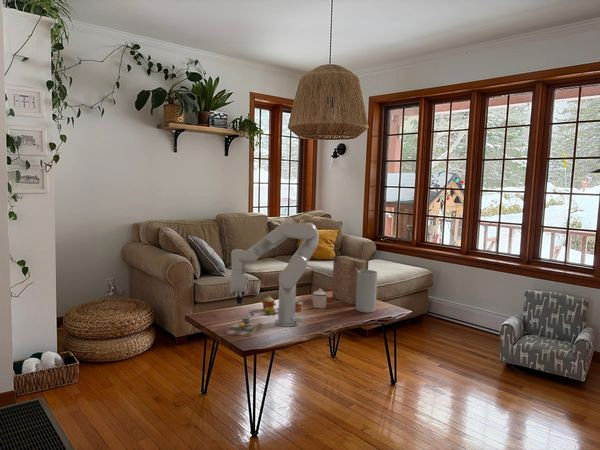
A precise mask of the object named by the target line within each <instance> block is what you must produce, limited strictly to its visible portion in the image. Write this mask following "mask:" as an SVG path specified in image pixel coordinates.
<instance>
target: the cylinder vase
mask: <svg viewBox="0 0 600 450" xmlns="http://www.w3.org/2000/svg"><path fill="white" fill-rule="evenodd" d="M377 285H378V272H377V271H376V270H373V269H372V270H370V269H368V270H358V271H357V293H356V306H355V310H356V311H357V312H358V313H359V312H360V313H366V314H368V313H374V312H375V311H376V308H377V307H376V305H377V304H376V303H377V289H378V288H377V287H378V286H377Z"/></svg>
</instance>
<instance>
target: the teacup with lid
mask: <svg viewBox="0 0 600 450" xmlns="http://www.w3.org/2000/svg"><path fill="white" fill-rule="evenodd" d="M327 295H328V294H327V292H325V291H324V290H322V288H318V289H317V290H316V291H314V292H313V293H312V294H310V301H311V302H312V307H313V308H316V309H325V308H326V307H327Z"/></svg>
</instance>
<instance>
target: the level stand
mask: <svg viewBox="0 0 600 450" xmlns="http://www.w3.org/2000/svg"><path fill="white" fill-rule="evenodd" d="M240 322H242V320H237V321H236V322H235V323H233V324H232V325H231V326H230V327H228V328H227V329H226V330H225V334H228V335H229V334H230V335H235V334H236V335H237V336H238V335H239V336H244V337H245V336H246V337H247V336H248V337H252V336H253V335H254V334H255V333H256V332H257V331H258V330H259V329H260V328H261V327H262V326H263V325H262V323H261V322H251V321H250V322H251V325H250V326H244V327H243V328H241V327H240V326H239V324H240Z"/></svg>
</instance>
